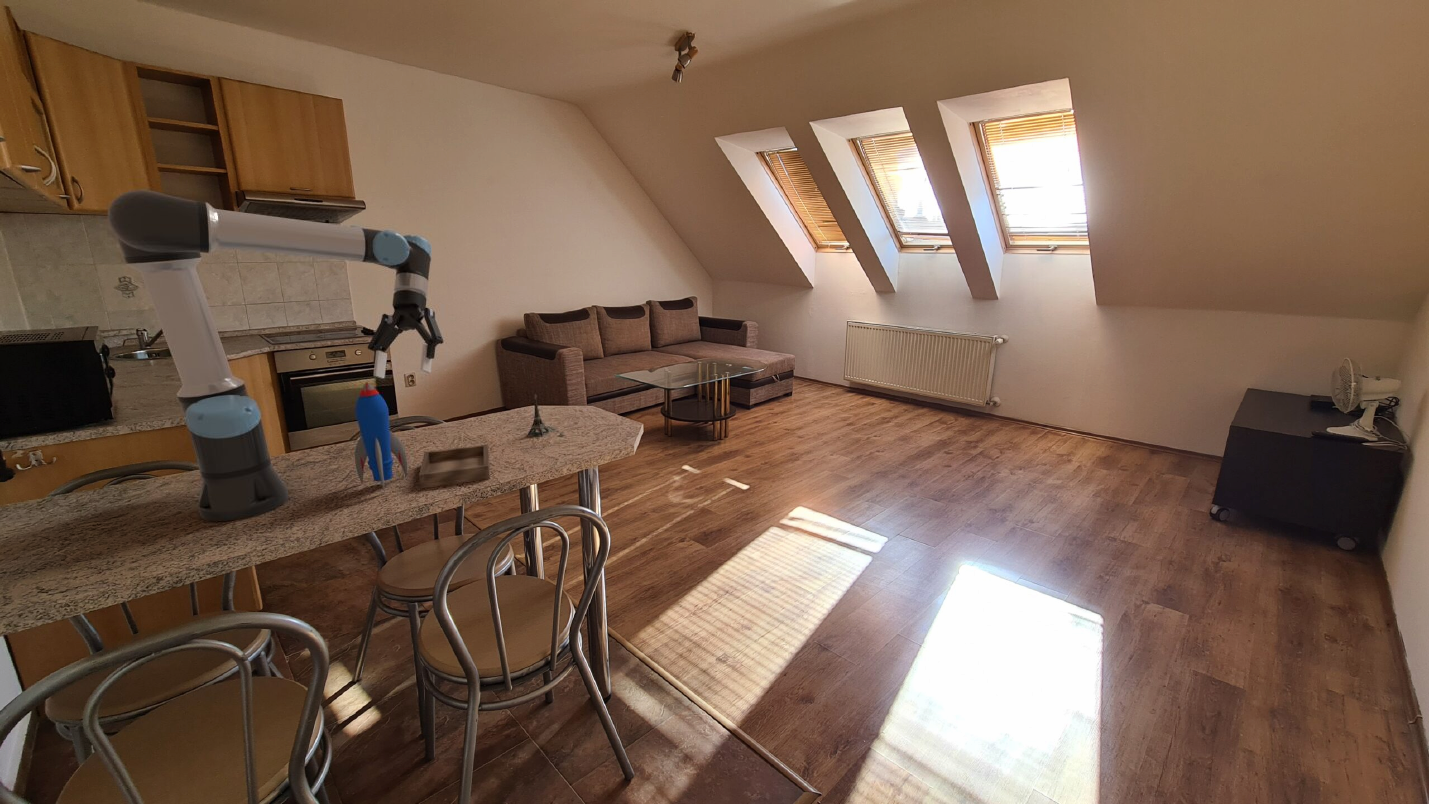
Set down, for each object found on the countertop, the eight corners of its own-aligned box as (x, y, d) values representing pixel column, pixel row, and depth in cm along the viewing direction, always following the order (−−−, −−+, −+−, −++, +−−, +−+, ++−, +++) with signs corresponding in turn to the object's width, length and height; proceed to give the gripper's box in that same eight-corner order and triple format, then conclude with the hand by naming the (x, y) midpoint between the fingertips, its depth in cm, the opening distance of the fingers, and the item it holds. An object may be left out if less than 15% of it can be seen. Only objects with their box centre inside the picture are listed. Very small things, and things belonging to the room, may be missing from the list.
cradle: (420, 488, 134) (418, 475, 133) (426, 463, 148) (424, 451, 148) (489, 478, 139) (488, 465, 139) (488, 456, 154) (487, 444, 153)
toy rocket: (385, 494, 131) (367, 387, 124) (343, 494, 131) (322, 387, 124) (410, 475, 141) (394, 376, 134) (371, 475, 141) (354, 375, 135)
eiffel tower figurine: (566, 438, 169) (563, 394, 165) (532, 445, 163) (528, 400, 159) (547, 425, 180) (544, 383, 177) (515, 431, 175) (510, 389, 171)
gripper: (462, 294, 149) (455, 373, 144) (381, 306, 155) (372, 383, 149) (442, 282, 142) (434, 364, 137) (358, 295, 148) (347, 375, 142)
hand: (402, 374), depth 143 cm, fingers open, 13 cm apart
